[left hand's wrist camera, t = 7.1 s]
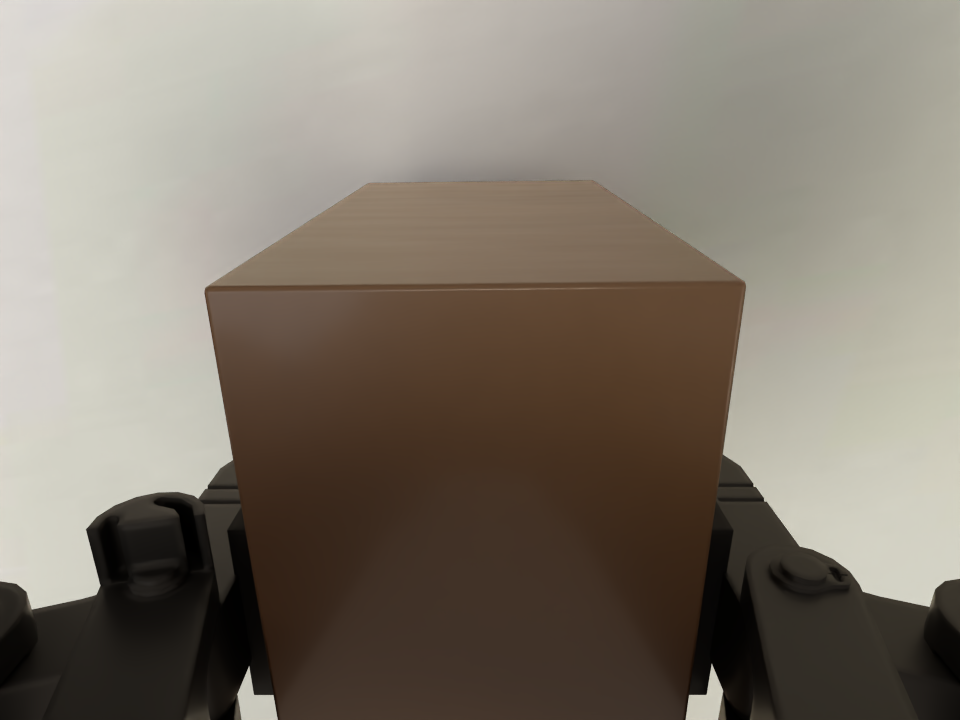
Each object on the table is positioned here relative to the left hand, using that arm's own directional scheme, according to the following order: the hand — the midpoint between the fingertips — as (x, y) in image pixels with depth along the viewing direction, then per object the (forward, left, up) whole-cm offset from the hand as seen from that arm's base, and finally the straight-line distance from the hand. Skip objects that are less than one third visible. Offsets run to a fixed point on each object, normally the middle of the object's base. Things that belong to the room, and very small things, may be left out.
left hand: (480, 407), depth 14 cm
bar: (+23, +26, -1) cm, 34 cm away
